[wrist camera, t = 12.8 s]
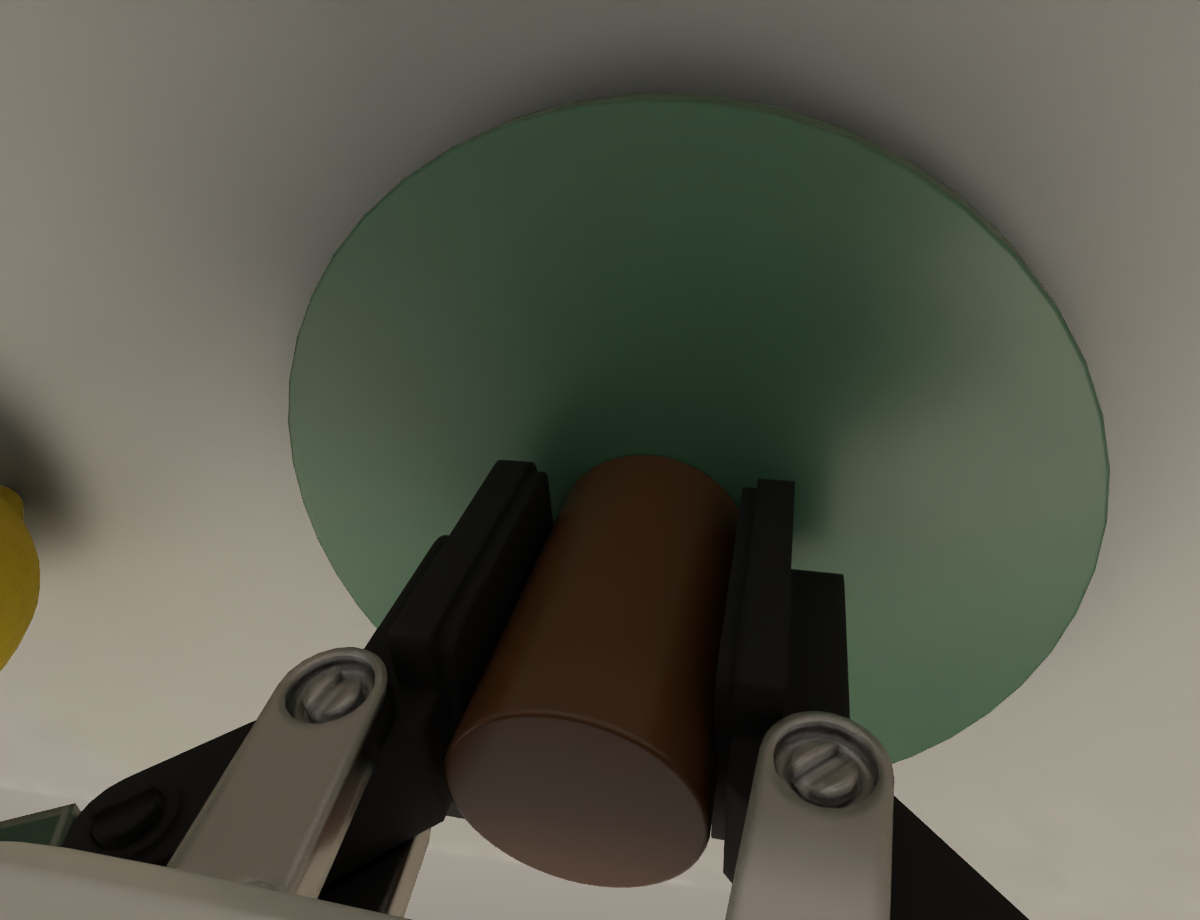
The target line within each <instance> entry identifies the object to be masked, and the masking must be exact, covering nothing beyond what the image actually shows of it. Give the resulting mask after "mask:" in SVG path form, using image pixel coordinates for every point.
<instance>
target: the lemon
mask: <svg viewBox="0 0 1200 920" xmlns="http://www.w3.org/2000/svg"><path fill="white" fill-rule="evenodd" d="M39 589H40V568H39V559H38V556H37V552H36V549H35V546H34V543H33V540H32V537H31V535H30V533H29V531H28V529H27V527H26V526H25V524H24V522H23V501H22V500H21V498H20V497H19V495H18V494H17V493H15V492H14V491H13V490H11V489H9V488H7V487H2V486H0V671H1V670H2V669H3V667H4V666H5V665H6V664H7V662H8V661H9V659H10V658H11V656H12V655H13V654H14V652H15V651H16V649H17V648H18V646H19V644H20V642H21V640H22V638H23V636H24V634H25V632H26V630H27V628H28V626H29V624H30V622H31V620H32V618H33V615H34V612H35V609H36V606H37V603H38V596H39Z"/></svg>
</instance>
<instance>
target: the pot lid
mask: <svg viewBox="0 0 1200 920" xmlns="http://www.w3.org/2000/svg"><path fill="white" fill-rule="evenodd" d="M288 423H289V432H290V440H291V449H292V457H293V464H294V468H295V472H296V476H297V480H298V484H299V487H300V491H301V495H302V499H303V503H304V505H305V508H306V510H307V513H308V515H309V518H310V520H311V523H312V526H313V528H314V531H315V533H316V536H317V538H318V540H319V542H320V544H321V546H322V548H323V550H324V552H325V553H326V555H327V557H328V559H329V561H330V563H331V565H332V567H333V568H334V570H335V572H336V574H337V576H338V577H339V579H340V580H341V581H342V583H343V584H344V586H345V587H346V589H347V590H348V592H349V593H350V595H351V596H352V598H353V599H354V601H355V602H356V604H357V605H358V606H359V608H360V609H361V610H362V611H363V612H364V614H365V615H366V616H367V617H368V618H369V620H370V621H371V622H372V623H373V624H374V626H375V627H376V628H377V629H378V627H379V626H380V624H381V622H382V621H383V619H384V618H385V616H386V615H387V613H388V612H389V610H390V609H391V607H392V606H393V604H394V603H395V601H396V600H397V598H398V597H399V595H400V594H401V592H402V591H403V589H404V587H405V586H406V584H407V583H408V581H409V580H410V578H411V577H412V575H413V574H414V572H415V571H416V569H417V568H418V566H419V565H420V563H421V562H422V560H423V559H424V557H425V555H426V554H427V552H428V551H429V549H430V548H431V546H432V545H433V543H434V542H435V541H436V540H437V539H438V538H439V537H440V536H443V535H450V533H451V532H452V530H453V529H454V527H455V526H456V524H457V522H458V521H459V519H460V518H461V516H462V515H463V513H464V511H465V510H466V508H467V507H468V505H469V504H470V502H471V500H472V499H473V497H474V496H475V494H476V493H477V491H478V490H479V488H480V486H481V485H482V483H483V482H484V480H485V479H486V477H487V475H488V474H489V472H490V471H491V469H492V468H493V466H494V464H495V463H496V462H497V461H498V460H514V461H527V462H533V463H535V465H536V467H537V471H540V472H545V473H546V474H547V476H548V482H549V491H550V500H551V509H552V518H553V527H552V529H551V531H550V533H549V535H548V537H547V539H546V542H545V544H544V546H543V548H542V550H541V552H540V554H539V556H538V559H537V561H536V563H535V565H534V567H533V569H532V571H531V573H530V575H529V578H528V580H527V582H526V584H525V586H524V588H523V590H522V592H521V595H520V597H519V599H518V601H517V603H516V605H515V607H514V609H513V612H512V614H511V616H510V618H509V620H508V622H507V624H506V626H505V628H504V631H503V633H502V635H501V637H500V639H499V641H498V643H497V645H496V648H495V650H494V652H493V654H492V656H491V658H490V660H489V662H488V665H487V667H486V669H485V671H484V673H483V675H482V677H481V679H480V681H479V684H478V686H477V688H476V690H475V692H474V694H473V696H472V698H471V701H470V703H469V705H468V707H467V709H466V711H465V713H464V715H463V717H462V720H461V722H460V724H459V726H458V728H457V730H456V732H455V734H454V737H453V739H452V741H451V743H450V745H449V747H448V749H447V753H446V757H445V779H446V784H447V787H448V790H449V793H450V796H451V798H452V800H453V801H454V803H455V805H456V807H457V808H458V810H459V811H460V813H461V814H462V815H463V817H464V818H465V819H466V820H467V821H468V822H469V824H470V825H471V826H472V827H473V828H474V829H475V830H476V831H477V832H478V833H479V834H481V835H482V836H483V837H484V838H485V839H486V840H488V841H489V842H490V843H492V844H493V845H494V846H495V847H497V848H498V849H500V850H501V851H503V852H505V853H506V854H508V855H509V856H511V857H513V858H515V859H516V860H518V861H520V862H522V863H524V864H526V865H528V866H530V867H533V868H535V869H537V870H539V871H542V872H545V873H547V874H550V875H553V876H556V877H559V878H562V879H566V880H569V881H573V882H578V883H582V884H588V885H594V886H602V887H616V888H617V887H618V888H619V887H626V888H628V887H640V886H647V885H652V884H657V883H661V882H664V881H667V880H670V879H672V878H674V877H676V876H678V875H680V874H682V873H683V872H685V871H686V870H688V869H689V868H690V867H691V866H692V865H693V864H694V863H695V862H696V861H697V860H698V859H699V858H700V856H701V855H702V853H703V851H704V850H705V848H706V846H707V843H708V841H709V838H710V831H711V823H712V815H713V807H714V799H715V791H716V783H717V775H718V770H717V760H716V757H715V753H714V750H713V746H714V704H715V683H716V671H717V662H718V655H719V648H720V641H721V634H722V627H723V620H724V613H725V606H726V599H727V592H728V585H729V578H730V572H731V565H732V558H733V551H734V544H735V537H736V530H737V523H738V516H739V509H740V502H741V495H742V489H743V487H751V488H757V483H758V478H759V479H773V480H786V481H795V495H794V517H793V539H792V561H791V569H797V570H807V571H817V572H827V573H838V574H843V576H844V584H845V607H846V631H847V655H848V679H849V704H850V719H851V720H853V721H855V722H856V723H858V724H859V725H861V726H863V727H864V728H866V729H868V730H869V731H870V732H871V733H872V734H873V735H874V736H875V737H876V738H877V739H878V740H879V741H880V742H881V743H882V745H883V747H884V748H885V750H886V752H887V754H888V756H889V758H890V759H891V762H892V764H893V763H896V762H898V761H901V760H904V759H907V758H910V757H912V756H914V755H916V754H918V753H920V752H923V751H925V750H927V749H929V748H931V747H933V746H935V745H937V744H939V743H941V742H943V741H945V740H947V739H949V738H951V737H953V736H954V735H956V734H957V733H959V732H961V731H962V730H964V729H965V728H967V727H968V726H970V725H971V724H973V723H975V722H976V721H978V720H979V719H981V718H982V717H984V716H985V715H987V714H988V713H989V712H991V711H992V710H993V709H994V708H995V707H997V706H998V705H999V704H1000V703H1001V702H1003V701H1004V700H1005V699H1006V698H1007V697H1008V696H1010V695H1011V694H1012V693H1013V692H1014V691H1016V690H1017V689H1018V688H1019V687H1020V686H1021V685H1022V684H1023V683H1024V682H1025V681H1026V680H1027V679H1028V678H1029V676H1030V675H1031V674H1032V673H1033V672H1034V671H1035V670H1036V669H1037V667H1038V666H1039V665H1040V664H1041V663H1042V662H1043V661H1044V660H1045V658H1046V657H1047V656H1048V655H1049V654H1050V653H1051V652H1052V650H1053V649H1054V647H1055V645H1056V644H1057V642H1058V641H1059V639H1060V638H1061V636H1062V635H1063V633H1064V632H1065V630H1066V628H1067V627H1068V625H1069V624H1070V622H1071V621H1072V619H1073V618H1074V616H1075V615H1076V613H1077V610H1078V608H1079V606H1080V604H1081V601H1082V599H1083V597H1084V594H1085V592H1086V590H1087V587H1088V585H1089V583H1090V580H1091V578H1092V576H1093V574H1094V571H1095V568H1096V564H1097V560H1098V556H1099V552H1100V548H1101V543H1102V539H1103V535H1104V531H1105V527H1106V523H1107V510H1108V492H1109V474H1110V467H1109V460H1108V452H1107V444H1106V436H1105V428H1104V420H1103V414H1102V411H1101V408H1100V405H1099V402H1098V399H1097V396H1096V392H1095V389H1094V386H1093V383H1092V380H1091V377H1090V373H1089V370H1088V367H1087V364H1086V361H1085V359H1084V357H1083V355H1082V353H1081V351H1080V349H1079V348H1078V346H1077V344H1076V342H1075V340H1074V338H1073V336H1072V334H1071V332H1070V330H1069V328H1068V326H1067V325H1066V323H1065V321H1064V319H1063V317H1062V315H1061V313H1060V311H1059V309H1058V307H1057V306H1056V304H1055V303H1054V301H1053V300H1052V298H1051V297H1050V295H1049V294H1048V293H1047V291H1046V290H1045V289H1044V287H1043V286H1042V285H1041V283H1040V282H1039V281H1038V279H1037V278H1036V277H1035V275H1034V274H1033V273H1032V271H1031V270H1030V269H1029V268H1028V266H1027V265H1026V264H1025V262H1024V261H1023V260H1022V258H1021V257H1020V256H1019V254H1018V253H1017V252H1016V250H1015V249H1014V248H1013V246H1012V245H1011V244H1010V243H1009V242H1008V241H1007V240H1006V239H1005V238H1004V237H1003V236H1002V235H1001V234H1000V233H999V232H998V231H997V230H996V229H995V228H994V227H993V226H991V225H990V224H989V223H988V222H987V221H986V220H985V219H984V218H983V217H982V216H981V215H980V214H979V213H978V212H977V211H976V210H975V209H974V208H973V207H972V206H971V205H969V204H968V203H967V202H966V201H965V200H964V199H963V198H962V197H961V196H959V195H958V194H956V193H955V192H953V191H952V190H950V189H949V188H948V187H946V186H945V185H943V184H942V183H940V182H939V181H938V180H936V179H935V178H933V177H932V176H930V175H929V174H927V173H926V172H925V171H923V170H922V169H920V168H919V167H917V166H916V165H915V164H913V163H912V162H910V161H909V160H907V159H906V158H904V157H901V156H899V155H897V154H895V153H893V152H891V151H889V150H887V149H885V148H883V147H881V146H879V145H877V144H875V143H873V142H871V141H869V140H867V139H865V138H863V137H861V136H859V135H857V134H855V133H853V132H851V131H849V130H847V129H845V128H842V127H839V126H836V125H833V124H830V123H827V122H824V121H820V120H817V119H814V118H811V117H808V116H805V115H802V114H799V113H796V112H793V111H790V110H787V109H784V108H780V107H777V106H771V105H765V104H759V103H753V102H748V101H742V100H736V99H730V98H724V97H719V96H713V95H691V94H655V93H640V94H631V95H623V96H614V97H606V98H598V99H589V100H581V101H576V102H572V103H568V104H565V105H561V106H557V107H554V108H550V109H546V110H543V111H539V112H535V113H532V114H528V115H524V116H521V117H518V118H515V119H513V120H511V121H509V122H506V123H504V124H502V125H500V126H497V127H495V128H493V129H491V130H488V131H486V132H484V133H482V134H479V135H477V136H475V137H473V138H470V139H468V140H466V141H464V142H462V143H460V144H458V145H456V146H454V147H452V148H450V149H449V150H447V151H446V152H444V153H443V154H441V155H440V156H438V157H437V158H435V159H434V160H432V161H430V162H429V163H427V164H426V165H424V166H423V167H421V168H420V169H418V170H417V171H415V172H414V173H412V174H411V175H409V176H407V177H406V178H404V179H403V180H402V181H401V182H400V183H399V184H398V185H397V186H396V187H394V188H393V189H392V190H391V191H390V192H389V193H388V194H387V195H386V196H385V197H383V198H382V199H381V200H380V201H379V202H378V203H377V204H376V205H375V206H374V207H373V208H371V209H370V210H369V211H368V212H367V213H366V214H365V215H364V216H363V218H362V219H361V220H360V221H359V223H358V224H357V225H356V227H355V228H354V229H353V230H352V232H351V233H350V234H349V235H348V237H347V238H346V239H345V241H344V242H343V243H342V244H341V246H340V247H339V248H338V250H337V251H336V252H335V253H334V255H333V257H332V259H331V261H330V263H329V264H328V266H327V268H326V270H325V272H324V274H323V275H322V277H321V279H320V281H319V283H318V285H317V286H316V288H315V290H314V292H313V294H312V296H311V299H310V302H309V305H308V308H307V311H306V313H305V316H304V319H303V322H302V325H301V328H300V331H299V334H298V336H297V341H296V346H295V352H294V358H293V363H292V369H291V375H290V380H289V418H288Z"/></svg>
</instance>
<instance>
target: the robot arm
mask: <svg viewBox="0 0 1200 920" xmlns="http://www.w3.org/2000/svg"><path fill="white" fill-rule="evenodd" d="M794 495H795V481H786V480H773V479H759V478H758V483H757V488H751V487H743V489H742V495H741V502H740V509H739V516H738V523H737V530H736V537H735V544H734V551H733V558H732V565H731V572H730V578H729V585H728V592H727V599H726V606H725V613H724V620H723V627H722V634H721V641H720V648H719V655H718V662H717V671H716V683H715V704H714V746H713V750H714V753H715V757H716V760H717V770H718V775H717V783H716V791H715V799H714V807H713V815H712V831H711V837H712V838H715V839H721V840H725V842H724V868H723V873H724V874H725V875H726V876H727V878H728V879H729V880H730V881H731V883H732V888H731V893H730V899H729V903H728V909H727V914H726V918H725V920H1029V919H1028V918H1027V917H1026V916H1025V915H1023V914H1022V913H1021V912H1020V911H1019V910H1018V909H1017V908H1016V907H1015V906H1014V905H1013V904H1011V903H1010V902H1009V901H1008V900H1007V899H1006V898H1005V897H1004V896H1003V895H1002V894H1001V893H999V892H998V891H997V890H996V889H995V888H994V887H993V886H992V885H991V884H990V883H989V882H988V881H986V880H985V879H984V878H983V877H982V876H981V875H980V874H979V873H978V872H977V871H976V870H974V869H973V868H972V867H971V866H970V865H969V864H968V863H967V862H966V861H965V860H964V859H962V858H961V857H960V856H959V855H958V854H957V853H956V852H955V851H954V850H953V849H952V848H950V847H949V846H948V845H947V844H946V843H945V842H944V841H943V840H942V839H941V838H940V837H938V836H937V835H936V834H935V833H934V832H933V831H932V830H931V829H930V828H929V827H928V826H927V825H925V824H924V823H923V822H922V821H921V820H920V819H919V818H918V817H917V816H916V815H915V814H913V813H912V812H911V811H910V810H909V809H908V808H907V807H906V806H905V805H904V804H903V803H901V802H900V801H899V800H898V799H897V798H896V797H895V796H894V775H893V768H892V762H891V759H890V758H889V756H888V754H887V752H886V750H885V748H884V747H883V745H882V743H881V742H880V741H879V740H878V739H877V738H876V737H875V736H874V735H873V734H872V733H871V732H870V731H869V730H868V729H866V728H864V727H863V726H861V725H859V724H858V723H856V722H855V721H853V720H851V719H850V704H849V679H848V655H847V631H846V607H845V584H844V576H843V574H838V573H827V572H817V571H807V570H797V569H791V561H792V539H793V517H794ZM552 527H553V518H552V509H551V500H550V491H549V482H548V476H547V474H546V473H545V472H540V471H537V467H536V465H535V463H533V462H527V461H514V460H498V461H497V462H496V463H495V464H494V466H493V468H492V469H491V471H490V472H489V474H488V475H487V477H486V479H485V480H484V482H483V483H482V485H481V486H480V488H479V490H478V491H477V493H476V494H475V496H474V497H473V499H472V500H471V502H470V504H469V505H468V507H467V508H466V510H465V511H464V513H463V515H462V516H461V518H460V519H459V521H458V522H457V524H456V526H455V527H454V529H453V530H452V532H451V533H450V535H443V536H440V537H439V538H438V539H437V540H436V541H435V542H434V543H433V545H432V546H431V548H430V549H429V551H428V552H427V554H426V555H425V557H424V559H423V560H422V562H421V563H420V565H419V566H418V568H417V569H416V571H415V572H414V574H413V575H412V577H411V578H410V580H409V581H408V583H407V584H406V586H405V587H404V589H403V591H402V592H401V594H400V595H399V597H398V598H397V600H396V601H395V603H394V604H393V606H392V607H391V609H390V610H389V612H388V613H387V615H386V616H385V618H384V619H383V621H382V622H381V624H380V626H379V627H378V629H377V630H376V632H375V633H374V635H373V636H372V638H371V639H370V641H369V642H368V644H367V645H366V647H365V648H364V649H360V648H355V647H346V648H335V649H331V650H328V651H324V652H321V653H318V654H316V655H314V656H312V657H310V658H308V659H306V660H304V661H302V662H301V663H300V664H298V665H297V666H296V667H294V668H293V669H292V670H291V671H289V672H288V673H287V675H286V676H285V677H284V678H283V679H282V681H281V682H280V683H279V684H278V686H277V687H276V689H275V691H274V692H273V694H272V696H271V697H270V699H269V700H268V702H267V704H266V705H265V707H264V709H263V710H262V712H261V713H260V715H259V717H258V718H257V720H255V721H253V722H251V723H249V724H246V725H244V726H242V727H240V728H237V729H235V730H233V731H231V732H228V733H226V734H224V735H222V736H220V737H217V738H215V739H213V740H211V741H208V742H206V743H204V744H202V745H199V746H197V747H195V748H193V749H190V750H188V751H186V752H184V753H181V754H179V755H177V756H175V757H172V758H170V759H168V760H166V761H163V762H161V763H159V764H157V765H155V766H152V767H150V768H148V769H146V770H143V771H141V772H139V773H137V774H134V775H132V776H130V777H128V778H126V779H124V780H122V781H120V782H118V783H117V784H115V785H113V786H111V787H109V788H108V789H106V790H105V791H104V792H102V793H101V794H100V795H99V796H97V797H96V798H95V799H94V800H92V801H91V802H90V803H89V804H88V805H87V806H86V807H85V809H84V810H83V811H80V810H79V808H78V807H77V805H76V804H75V803H74V804H70V805H66V806H62V807H58V808H54V809H51V810H46V811H42V812H38V813H34V814H30V815H26V816H22V817H18V818H13V819H10V820H6V821H1V822H0V920H411V919H406V918H404V915H405V912H406V909H407V906H408V903H409V900H410V897H411V894H412V891H413V888H414V885H415V882H416V879H417V876H418V873H419V870H420V867H421V864H422V861H423V858H424V855H425V852H426V849H427V846H428V843H429V837H430V831H431V827H433V826H435V825H436V824H438V823H440V822H442V821H444V819H445V816H452V817H457V818H463V819H465V818H464V817H463V815H462V814H461V813H460V811H459V810H458V808H457V807H456V805H455V803H454V801H453V800H452V798H451V796H450V793H449V790H448V787H447V784H446V779H445V757H446V753H447V749H448V747H449V745H450V743H451V741H452V739H453V737H454V734H455V732H456V730H457V728H458V726H459V724H460V722H461V720H462V717H463V715H464V713H465V711H466V709H467V707H468V705H469V703H470V701H471V698H472V696H473V694H474V692H475V690H476V688H477V686H478V684H479V681H480V679H481V677H482V675H483V673H484V671H485V669H486V667H487V665H488V662H489V660H490V658H491V656H492V654H493V652H494V650H495V648H496V645H497V643H498V641H499V639H500V637H501V635H502V633H503V631H504V628H505V626H506V624H507V622H508V620H509V618H510V616H511V614H512V612H513V609H514V607H515V605H516V603H517V601H518V599H519V597H520V595H521V592H522V590H523V588H524V586H525V584H526V582H527V580H528V578H529V575H530V573H531V571H532V569H533V567H534V565H535V563H536V561H537V559H538V556H539V554H540V552H541V550H542V548H543V546H544V544H545V542H546V539H547V537H548V535H549V533H550V531H551V529H552Z"/></svg>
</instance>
